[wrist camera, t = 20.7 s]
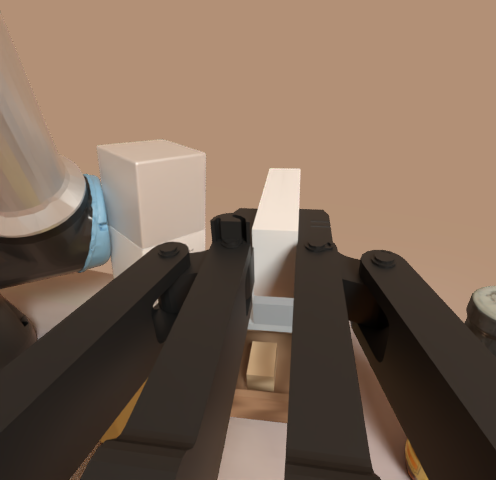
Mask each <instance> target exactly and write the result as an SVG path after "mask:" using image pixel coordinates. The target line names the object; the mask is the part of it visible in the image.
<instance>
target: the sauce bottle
mask: <svg viewBox="0 0 496 480" xmlns="http://www.w3.org/2000/svg"><path fill="white" fill-rule="evenodd" d="M465 325H466V326H467V327H468V328H469V329H470V330H471V331H472V332H473V333H474V335H475V336H476V337H477V338H478V339H479V340H480V341H481V342H482V343H483V344H484V345H485V346H486V347H487V348H488V350H489V351H490V352H491V353H492V354H493V355H494V356H495V357H496V286H488V287H483V288H480V289H478V290H476V291H475V292H474V293H473V294H472V296H471V298H470V301H469V303H468V306H467V319H466V321H465ZM405 455H406V458H405V460H406V466H407V469H408V473H409V475H410V477H411V478H412V480H428V478H427V476H426V474H425V472H424V470H423V468H422V466H421V464H420V462H419V460H418V458H417V456H416V454H415V452H414V450H413V448H412V446H411V444H410V442H409V440H408V438H407V441H406V445H405Z"/></svg>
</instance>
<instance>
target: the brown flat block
mask: <svg viewBox="0 0 496 480" xmlns="http://www.w3.org/2000/svg"><path fill="white" fill-rule="evenodd" d="M291 341H292V333H289V332H276V331H262V330H249V329H247V334H246V339H245V344H244V349H243V354H242V359H241V364H240V369H239V374H238V379H237V384H236V389H235V394H234V399H233V404H232V409H231V414H230V417H239V418H247V419H256V420H265V421H273V422H282V423H287V422H288V402H289V381H290V361H291Z"/></svg>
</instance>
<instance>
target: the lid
mask: <svg viewBox="0 0 496 480" xmlns="http://www.w3.org/2000/svg"><path fill="white" fill-rule="evenodd" d="M293 301H294V298H284V297H269V296H254V287H253V292H252V309H251V314H250V319H249V324H248V329H249V330H262V331H276V332H289V333H292V321H293Z"/></svg>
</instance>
